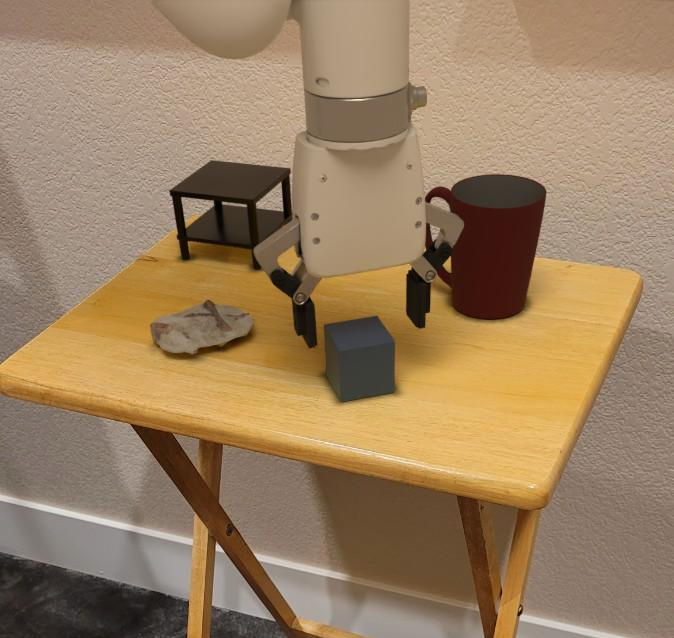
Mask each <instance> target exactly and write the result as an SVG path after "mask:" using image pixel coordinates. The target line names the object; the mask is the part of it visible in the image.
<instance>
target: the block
mask: <svg viewBox="0 0 674 638" xmlns="http://www.w3.org/2000/svg"><path fill="white" fill-rule="evenodd" d="M323 342H324V343H323V344H324V345H323V346H324V367H325V376H326V378H327V379H328V382H329V383H330V385H331V387H332V389H333V390H334V392H335V394H336V396H337V398H338V399H339V402H341V403H342V402H343V403H344V402H349V401H354V400H359V399H365V398H366V399H367V398H370V397H371V398H372V397H377V396H382V395H388V394H393V393H395V377H396V376H395V374H396V373H395V370H396V369H395V368H396V367H395V364H396V362H395V361H396V340H395V339H394V337H393V336H392V334H391V333H390V332H389V330H388V329H387V328H386V326H385V325H384V323H383V322H382V319H380V317H379V316H378V315H372V316H366V317H360V318H353V319H348V320H342V321H336V322H329V323H324V324H323Z"/></svg>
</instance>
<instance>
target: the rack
mask: <svg viewBox="0 0 674 638" xmlns="http://www.w3.org/2000/svg"><path fill="white" fill-rule="evenodd" d="M291 174H292V171H291V167H281V166H272V165H264V164H263V165H261V164H253V163H242V162H234V161H233V162H232V161H222V160H210V161H208V162H206V163H205V164H204V165H202V166H201V167H200V168H198V169H197V170H195V171H194V172H193V173H191V174H190V175H189V176H187V177H185V178H184V179H183V180H181V181H180V182H178V183H177V184H176V185H175V186H173V187H172V188H171V189H169V196H170V197H171V201H172V206H173V213H174V219H175V220H174V221H175V225H176V232H177V234H176V240H177V241H178V245H179V252H180V259H181V260H182V261H188V260H191V253H190V245H189V242H190V243H197V244H198V243H199V244H206V245H213V246H220V247H221V246H222V247H229V248H235V249H236V248H238V249H243V250H244V249H246V250H250V252H251V261H252V262H251V263H252V269H253V270H255V271H260V270H263V269H262V267H261V266H260V264H259V263H258V261H257V259H256V258H255V256H254V253H253V250H254V248H255V247H256V246H257V245H259V244H260V243H261V242H263V241H264V240H265V239H267V238H268V237H269V236H271V235H272V234H274V233H275V232H276V231H278V230H279V229H280V228H282V227H283V226H285V225H286V224H287V223H289V222H290V221H291V220H292V187H291V177H290V176H291ZM280 183H281V198H282V210H274V209H268V208H267V209H266V208H257V203H259V202H260V201H261V200H262V199H263V198H264V197H265V196H266V195H268V194H269V193H270V192H272V191H273V190H274V189H275V188H276V187H277V186H278V185H279V184H280ZM182 198H186V199H195V200H202V201H212V202H213V206H212V207H210V208H209V209H208V210H206V211H205V212H204V213H203V214H202V215H200V216H198V218H196V219H195V220H194V221H193V222H191V223H190V224H189V225H188V226H186V220H185V214H184V206H183V200H182ZM223 203H229V204H223ZM233 204H238V205H233ZM241 205H246V206H241Z"/></svg>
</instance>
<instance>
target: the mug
mask: <svg viewBox="0 0 674 638" xmlns="http://www.w3.org/2000/svg"><path fill="white" fill-rule="evenodd" d="M434 198H439V199H442V200H443V201H445V203H447V205H448V207H449V212H451V213H454V214H456V215H457V216H458V217H460V218H461V219H462V220H463V222H464V227H463V230H462V232H461V234H460V236H459V238H458V240H457V242H456V244H455V245H454V246H453V248H452V255H451V256H450V271H448V270H447V269H446V268H445V266H444V265H443V266H442V267H441V268H440V269H439V270H438V271H437V277H438V278H439V279H440V280H441V281H442V282H443V283H444V284H445V285H447V286H448V287H449V288H450V289H451V304H452V306H453V307H454V309H456V310H457V312H459V313H461V314H464V315H466V316H469V317H472V318H477V319H488V320H489V319H495V320H496V319H503V318H507V317H512V316H514V315H516V314H518V313H520V312H522V310H523V309H524V307H525V306H526V305H525V304H526V301H527V296H528V292H529V287H530V282H531V278H532V273H533V268H534V264H535V258H536V254H537V248H538V244H539V239H540V235H541V230H542V224H543V218H544V213H545V207H546V206H545V205H546V200H547V189H546V187H545V186H544V185H543V184H542V183H540V182H539V181H536V180H535V179H531V178H529V177H524V176H520V175H515V174H505V173H503V174H500V173H492V174H491V173H490V174H479V175H474V176H470V177H465V178H463V179H460V180H458V181H457V182H456V183H454V184H453V185H452V186H451V189H449V188H448V187H446V186H442V185H441V186H440V185H439V186H435V187H433V188H432V189H430V190H429V191H428V192H427V194H425V202H427V203H430V204H431V202H432V200H433V199H434ZM431 229H432V228H431V224H428V223H426V242H425V251H426V250H427V248H428V247H429V246H430V245H431V244H432V242H433V241H434V240H433V235H432V230H431Z"/></svg>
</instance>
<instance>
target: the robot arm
mask: <svg viewBox="0 0 674 638" xmlns="http://www.w3.org/2000/svg"><path fill="white" fill-rule="evenodd" d="M148 1H149V2H150V4H152V5H153V7H155V9H156V10H157V11H158V12H159V13H160V14H161V15H162V16H163V17H164V18H165V19H166V20H167V21H168V22H169V23H170V24H171V26H173V27H174V28H175V29H176V30H177V31H178V32H179V33H180V34H181V35H182V36H183V37H185V38H186V39H187V40H188V41H189V42H191V43H192V44H193V45H194V46H196V47H197V48H199V49H201V50H202V51H204V52H206V53H208V54H209V55H212V56H215V57H217V58H221V59H226V60H243V59H247V58H251V57H253V56H256V55H258V54H260V53H261V52H263V51H265V50H266V49H267V48H268V47H269V46H270V45H271V44H272V43H274V41H275V40H276V39H277V37H278V36H279V35H280V33H281V32H282V30H283V28H284V26H285V24H286V21H293V20H294V21H295V22H296V24H298V27H299V35H300V36H299V37H300V52H301V53H300V54H301V67H302V83H303V97H304V113H305V114H304V115H305V128H306V130H303V131H300V132H297V134H296V135H295V139H294V140H295V141H294V149H293V158H292V159H293V160H292V163H293V164H292V176H291V177H292V180H291V181H292V182H291V204H292V220H291V221H290V222H289V223H287V224H286V225H285V226H283V227H282V228H280V229H279V230H278V231H276V232H275V233H274V234H272V235H271V236H269V237H268V238H267V239H265V240H264V241H263V242H261V243H260V244H259V245H257V246H256V247H255V248H254V250H253V253H254V256H255V258H256V259H257V261H258V263H259V264H260V266H261V267H262V269H261V270H263V272H264V273H265V274H266V276H267V277H268V279H269V280H270V282H271V283H272V284H273V286H274V287H275V288H277V289H278V291H279V290H280V291H281V292H282V293H283V294H284V295H286V296H287V297H288V298H290V299H291V307H292V320H293V329H294V333H295V334H296V336H297V337H302V338H303V340H304V342H305V344H306V346H307V348H308V349H309V350H310V349H315V348H316V347H318V333H317V319H316V318H317V317H316V305H315V303H314V301H313V299H312V298H311V295H312V294H313V292H314V291H315V290H316V288H317V287H318V286H319V284H320V283H321V281H322V279H329V278H337V277H343V276H349V275H355V274H356V275H357V274H362V273H368V272H373V271H380V270H385V269H386V270H387V269H391V268H398V267H402V266H406V265H409V266H410V267H411V268H410V269H408V270H407V273H406V274H405V276H406V278H405V287H406V288H405V289H406V290H405V314H406V316H407V317H408V319H409V320H410V321H411V323H412V324H413V325H414V327H415V328H417V329H418V330H420V329H425V328H426V326H427V325H426V324H427V314H430V313H431V302H432V301H431V298H432V283H433V282H434V281H435V280H436V279H437V277H438V275H437V271H438V270H439V269H440V268H441V267H442V266H444V265H445V263H446V262H447V261H448V260H449V259H450V258H451V255H452V248H453V246H454V245H455V244H456V242H457V240H458V238H459V236H460V234H461V232H462V230H463V227H464V222H463V220H462V219H461V218H460V217H458V216H457V215H456V214H454V213H451V212H450V210H449V211H448V210H447V209H444V208H442V207H440V206H436V205H434V204H432V203H431V202H430V203H427V202H425V197H426V193H425V183H424V182H425V181H424V173H423V164H422V157H421V150H420V143H419V137H418V133H417V128H416V127H415V126H414V125H413V124H412V115H413V111H416V110H417V109H418V108H425V107H426V106H427V104H428V92H427V89H426V86H424V85H421V86H420V85H419V86H416V85H414V84H413V85H412V83H411V82H410V67H409V66H410V4H411V1H410V0H148ZM426 223H428V224H430V226H434V227H436V228H439V232H438V233H437V238H435V239H434V240H433V242H432V244H431V245H430V246H429V247H428V248H427V250H426V248H425V242H426ZM292 247H294V248H293V249H294V252H295V255H296V257H297V258H300V259H299V261H298V263H297V264H296V265H295V267H294V268H293V270H292V272H291V273H289V272H288V271H287V270H285V269H284V268H283V267H282V266H281V265H280V264H279V263H278V259H279V257H280V256H281V255H283V254H284V253H285V252H287V251H289V250H290V249H291V248H292Z"/></svg>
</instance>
